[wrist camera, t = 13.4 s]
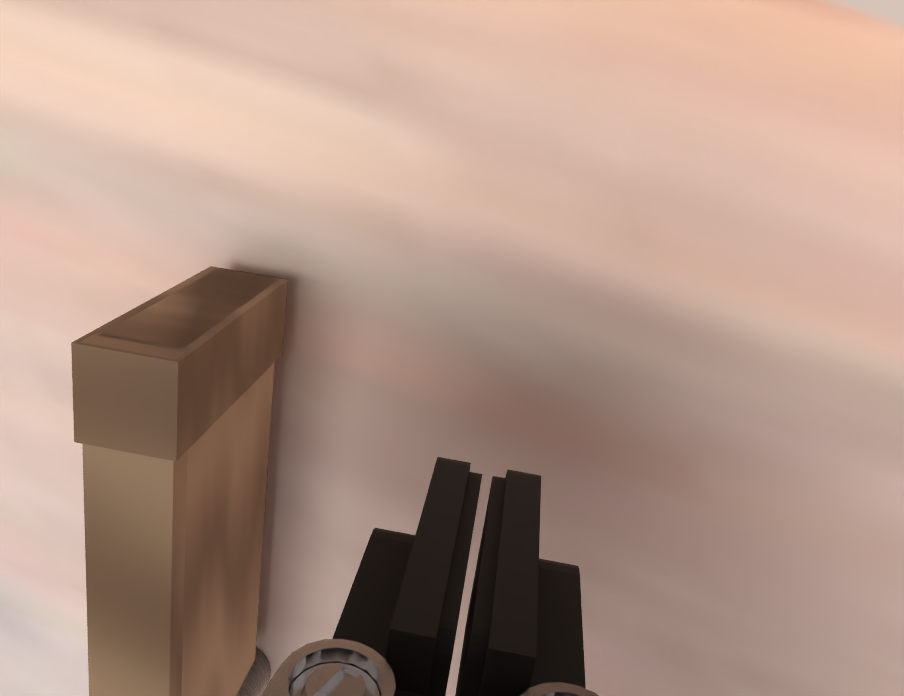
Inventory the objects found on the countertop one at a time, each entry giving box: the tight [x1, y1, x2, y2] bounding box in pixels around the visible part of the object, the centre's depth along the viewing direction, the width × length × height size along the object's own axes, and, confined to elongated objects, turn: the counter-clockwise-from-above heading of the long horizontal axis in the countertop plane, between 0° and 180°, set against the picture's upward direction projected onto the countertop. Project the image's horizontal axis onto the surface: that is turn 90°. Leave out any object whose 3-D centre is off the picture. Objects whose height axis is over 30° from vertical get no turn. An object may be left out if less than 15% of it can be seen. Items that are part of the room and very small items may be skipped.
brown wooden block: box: [71, 267, 288, 696], centre depth 19 cm, size 12×2×6 cm, turn 172°
